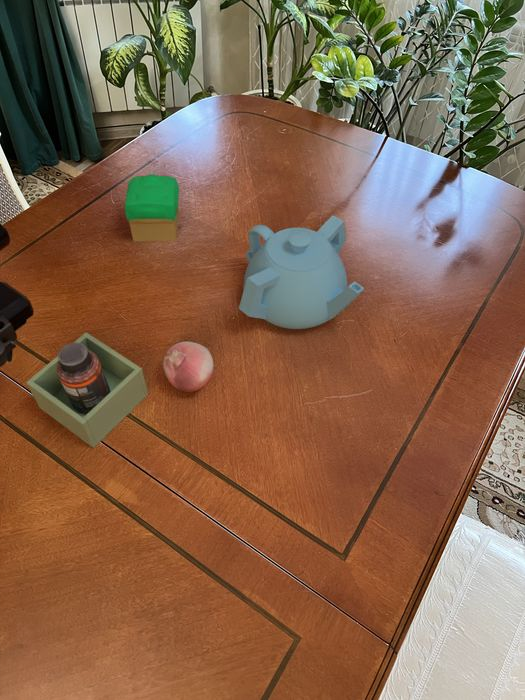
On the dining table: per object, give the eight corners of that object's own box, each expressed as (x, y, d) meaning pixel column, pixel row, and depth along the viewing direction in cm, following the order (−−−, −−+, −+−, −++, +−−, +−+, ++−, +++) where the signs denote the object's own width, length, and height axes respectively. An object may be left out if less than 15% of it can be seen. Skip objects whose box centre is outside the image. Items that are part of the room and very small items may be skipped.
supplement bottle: (96, 376, 89) (79, 329, 80) (119, 399, 86) (104, 353, 77) (63, 398, 86) (42, 352, 77) (86, 423, 84) (66, 378, 75)
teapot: (239, 336, 95) (238, 276, 84) (242, 257, 107) (242, 196, 96) (354, 338, 95) (368, 279, 85) (344, 259, 107) (355, 199, 96)
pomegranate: (160, 366, 91) (154, 338, 85) (205, 352, 93) (202, 323, 87) (175, 406, 87) (170, 379, 81) (223, 389, 89) (221, 362, 83)
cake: (183, 208, 116) (178, 165, 108) (180, 243, 109) (175, 200, 101) (134, 208, 115) (126, 165, 107) (128, 244, 109) (119, 200, 101)
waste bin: (93, 448, 82) (82, 424, 77) (39, 408, 86) (25, 382, 81) (148, 394, 88) (142, 368, 82) (95, 359, 92) (86, 332, 86)
